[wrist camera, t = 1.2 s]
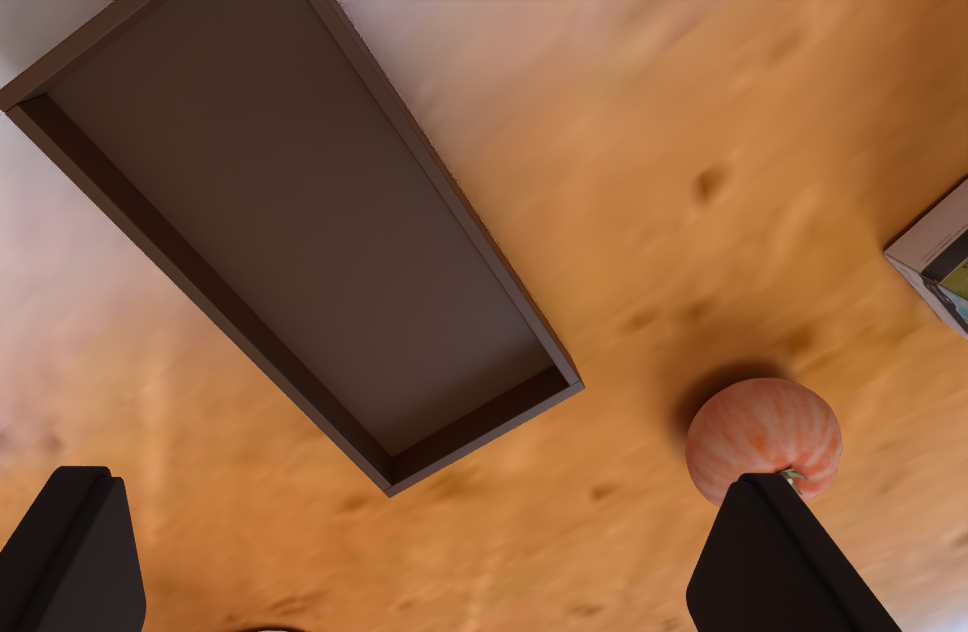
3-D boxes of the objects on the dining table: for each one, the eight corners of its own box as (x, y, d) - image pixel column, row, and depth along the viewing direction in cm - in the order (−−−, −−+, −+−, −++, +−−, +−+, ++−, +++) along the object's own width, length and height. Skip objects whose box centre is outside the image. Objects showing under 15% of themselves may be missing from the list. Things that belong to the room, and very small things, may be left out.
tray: (27, 85, 32) (-12, 98, 29) (270, -101, 30) (255, -109, 27) (389, 463, 47) (389, 498, 44) (572, 359, 45) (585, 388, 42)
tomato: (751, 329, 45) (815, 394, 39) (829, 403, 50) (900, 473, 43) (639, 426, 49) (681, 503, 42) (722, 488, 53) (772, 566, 46)
